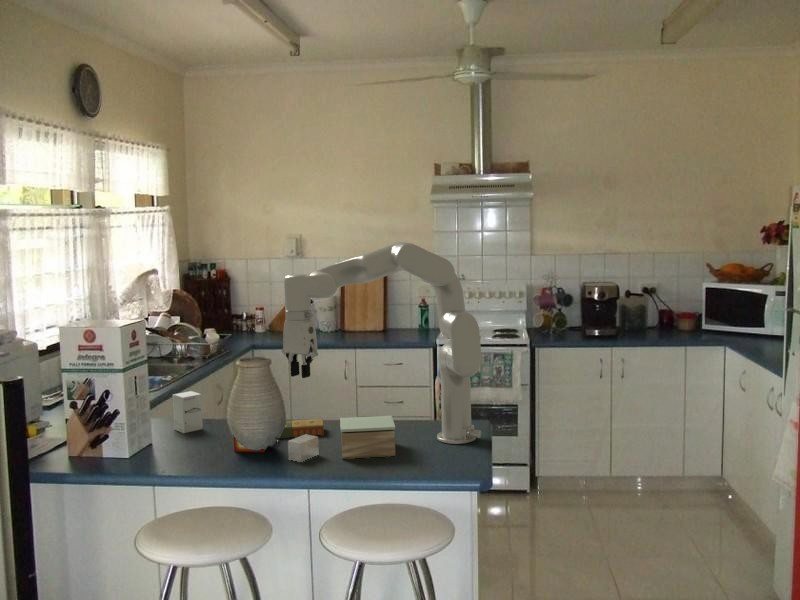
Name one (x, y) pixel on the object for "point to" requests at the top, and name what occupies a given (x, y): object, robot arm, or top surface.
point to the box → (368, 444)
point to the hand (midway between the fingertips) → (300, 375)
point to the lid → (367, 423)
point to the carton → (303, 428)
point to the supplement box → (187, 411)
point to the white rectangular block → (303, 448)
